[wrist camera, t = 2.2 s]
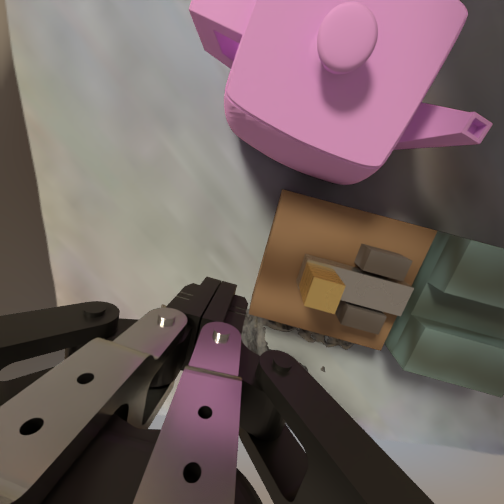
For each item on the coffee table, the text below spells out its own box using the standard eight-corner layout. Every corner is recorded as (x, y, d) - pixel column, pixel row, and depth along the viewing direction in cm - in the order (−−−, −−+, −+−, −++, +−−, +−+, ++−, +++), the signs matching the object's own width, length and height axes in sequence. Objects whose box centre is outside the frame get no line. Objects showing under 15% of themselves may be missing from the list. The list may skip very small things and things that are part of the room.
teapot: (449, 91, 20) (628, -7, 10) (377, 211, 22) (459, 230, 13) (245, -11, 19) (214, -224, 9) (198, 126, 22) (135, 76, 12)
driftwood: (157, 334, 28) (149, 345, 26) (166, 282, 27) (157, 290, 25) (329, 379, 28) (334, 394, 26) (350, 330, 26) (357, 342, 24)
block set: (282, 189, 22) (285, 190, 17) (506, 249, 22) (588, 271, 16) (252, 294, 25) (246, 326, 20) (449, 349, 25) (501, 397, 19)
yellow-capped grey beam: (305, 253, 19) (315, 274, 15) (403, 280, 19) (443, 309, 15) (296, 280, 20) (303, 308, 15) (390, 306, 20) (426, 342, 15)
